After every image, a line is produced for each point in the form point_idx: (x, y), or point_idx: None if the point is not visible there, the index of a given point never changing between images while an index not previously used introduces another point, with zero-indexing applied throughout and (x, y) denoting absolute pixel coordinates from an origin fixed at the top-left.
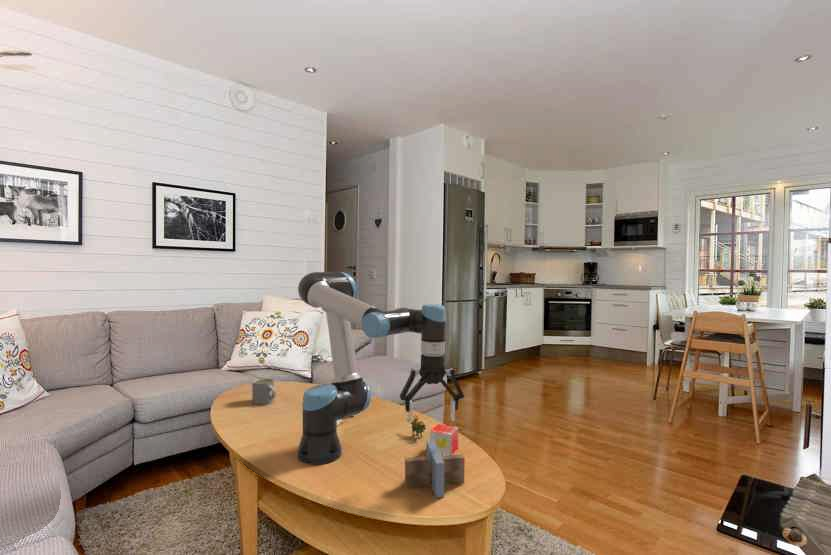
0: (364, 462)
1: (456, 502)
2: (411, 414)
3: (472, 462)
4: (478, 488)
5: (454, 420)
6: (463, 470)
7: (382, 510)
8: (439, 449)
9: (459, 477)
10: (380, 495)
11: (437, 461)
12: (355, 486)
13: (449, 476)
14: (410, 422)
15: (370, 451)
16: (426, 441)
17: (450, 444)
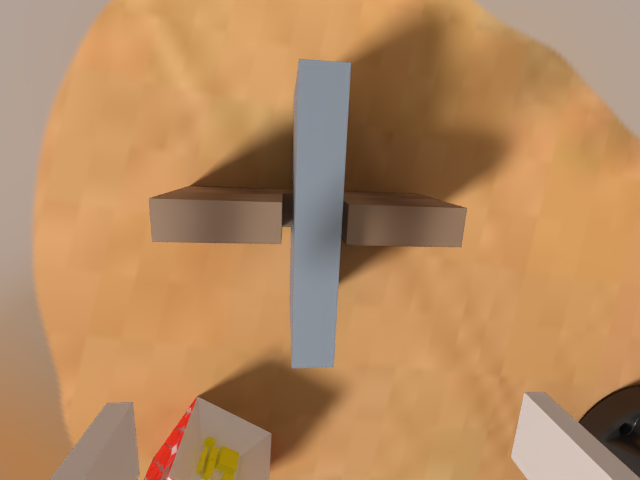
0: (509, 385)
1: (254, 47)
2: (598, 459)
3: (116, 348)
4: (137, 139)
5: (104, 409)
6: (176, 191)
7: (530, 51)
8: (233, 440)
9: (203, 189)
10: (512, 155)
11: (337, 88)
12: (574, 230)
13: (247, 191)
14: (541, 395)
15: (473, 457)
16: (333, 364)
17: (184, 438)
